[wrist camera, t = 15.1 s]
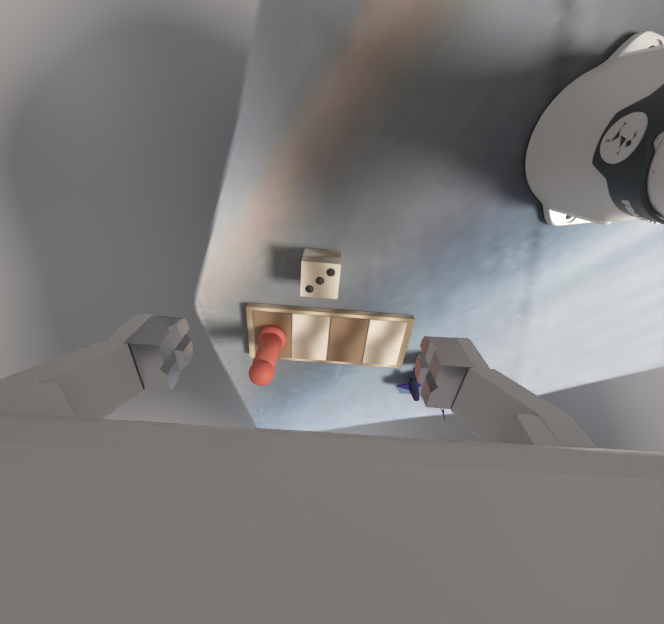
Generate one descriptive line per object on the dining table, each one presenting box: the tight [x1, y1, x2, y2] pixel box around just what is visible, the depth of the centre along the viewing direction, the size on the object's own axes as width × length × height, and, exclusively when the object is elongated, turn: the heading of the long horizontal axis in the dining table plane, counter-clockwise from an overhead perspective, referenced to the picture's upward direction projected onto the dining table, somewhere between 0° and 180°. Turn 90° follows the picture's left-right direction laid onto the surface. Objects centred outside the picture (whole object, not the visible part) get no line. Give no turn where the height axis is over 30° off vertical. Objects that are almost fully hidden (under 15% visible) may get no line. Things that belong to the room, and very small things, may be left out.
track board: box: [246, 303, 415, 368], centre depth 48 cm, size 26×10×1 cm, turn 85°
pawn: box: [249, 325, 287, 385], centre depth 43 cm, size 4×4×10 cm
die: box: [300, 248, 341, 299], centre depth 40 cm, size 5×5×5 cm
